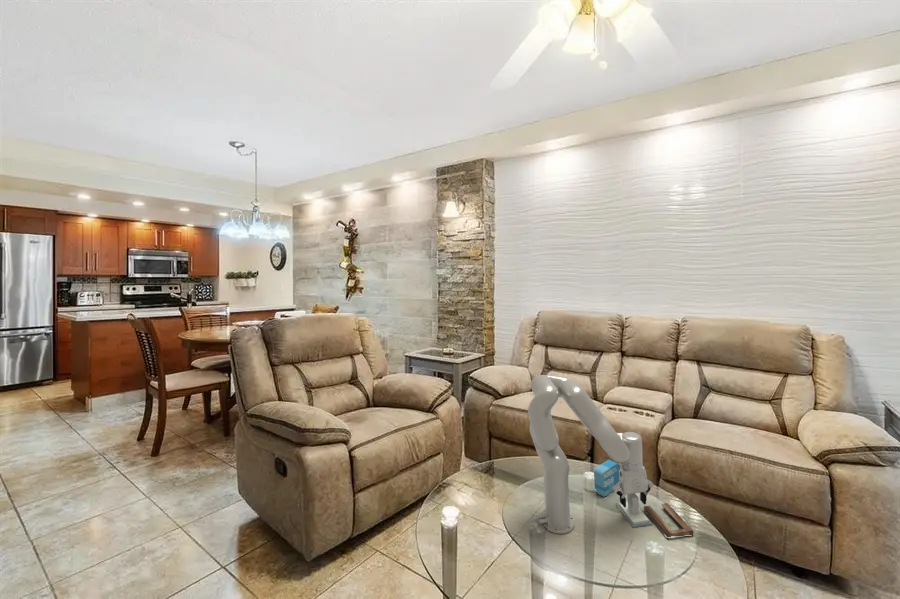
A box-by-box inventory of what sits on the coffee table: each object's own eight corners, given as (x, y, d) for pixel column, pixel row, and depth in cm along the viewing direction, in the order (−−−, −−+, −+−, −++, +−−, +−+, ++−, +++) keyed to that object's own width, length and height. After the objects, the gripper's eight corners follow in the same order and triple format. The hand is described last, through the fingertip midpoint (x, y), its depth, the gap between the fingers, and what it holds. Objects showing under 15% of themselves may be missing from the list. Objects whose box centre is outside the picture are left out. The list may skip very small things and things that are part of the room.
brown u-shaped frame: (667, 539, 151) (667, 534, 151) (644, 511, 167) (643, 506, 166) (693, 535, 152) (693, 530, 151) (667, 507, 167) (667, 503, 167)
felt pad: (633, 527, 158) (632, 526, 158) (615, 504, 172) (615, 503, 172) (652, 525, 159) (652, 523, 159) (634, 502, 173) (633, 500, 172)
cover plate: (633, 524, 159) (633, 505, 158) (618, 504, 171) (618, 486, 170) (648, 522, 160) (648, 503, 158) (632, 502, 171) (632, 484, 170)
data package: (603, 498, 177) (602, 473, 175) (594, 493, 181) (593, 468, 179) (619, 486, 183) (618, 462, 182) (610, 482, 187) (609, 458, 185)
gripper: (615, 471, 158) (616, 512, 160) (658, 466, 159) (659, 506, 162) (606, 461, 165) (608, 500, 168) (647, 455, 166) (648, 495, 169)
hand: (633, 503), depth 165 cm, fingers open, 7 cm apart
